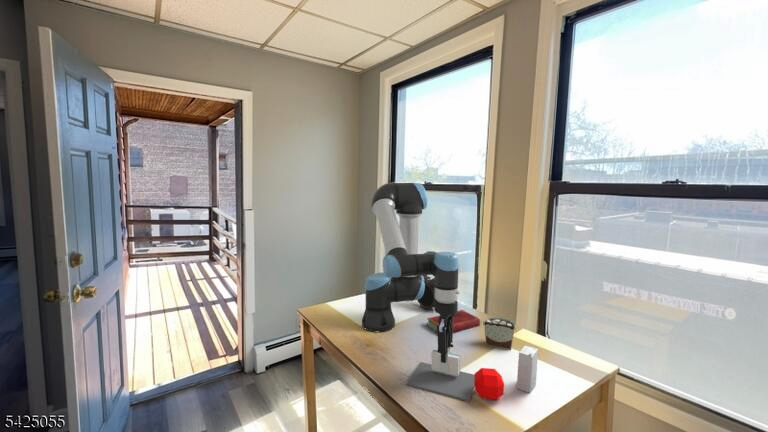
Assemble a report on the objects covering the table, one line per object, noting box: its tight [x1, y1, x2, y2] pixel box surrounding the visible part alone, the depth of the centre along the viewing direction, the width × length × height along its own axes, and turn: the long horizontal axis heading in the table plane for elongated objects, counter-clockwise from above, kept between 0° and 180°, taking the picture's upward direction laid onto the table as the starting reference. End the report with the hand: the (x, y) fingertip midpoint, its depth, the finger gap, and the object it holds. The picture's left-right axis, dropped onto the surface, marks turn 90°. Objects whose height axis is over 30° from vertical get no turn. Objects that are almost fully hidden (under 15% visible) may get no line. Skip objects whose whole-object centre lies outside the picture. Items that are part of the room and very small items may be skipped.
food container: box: [482, 316, 517, 351], centre depth 132 cm, size 12×6×10 cm, turn 65°
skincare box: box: [516, 345, 539, 394], centre depth 104 cm, size 6×4×12 cm
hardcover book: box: [426, 309, 482, 334], centre depth 150 cm, size 12×21×4 cm, turn 119°
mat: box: [405, 361, 475, 403], centre depth 108 cm, size 20×14×1 cm
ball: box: [474, 367, 505, 401], centre depth 100 cm, size 8×8×8 cm
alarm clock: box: [417, 275, 435, 313], centre depth 169 cm, size 14×7×20 cm, turn 41°
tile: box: [431, 349, 461, 376], centre depth 110 cm, size 9×2×6 cm, turn 65°
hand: (445, 368), depth 110 cm, fingers closed on tile, 2 cm apart
